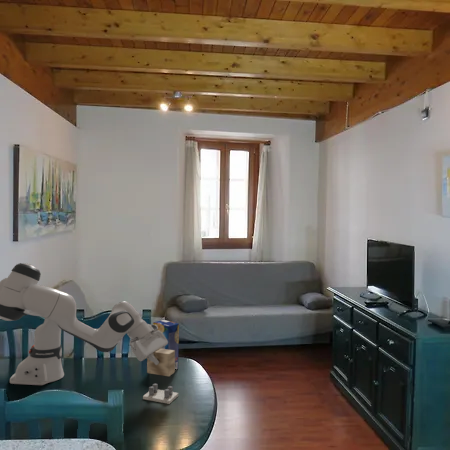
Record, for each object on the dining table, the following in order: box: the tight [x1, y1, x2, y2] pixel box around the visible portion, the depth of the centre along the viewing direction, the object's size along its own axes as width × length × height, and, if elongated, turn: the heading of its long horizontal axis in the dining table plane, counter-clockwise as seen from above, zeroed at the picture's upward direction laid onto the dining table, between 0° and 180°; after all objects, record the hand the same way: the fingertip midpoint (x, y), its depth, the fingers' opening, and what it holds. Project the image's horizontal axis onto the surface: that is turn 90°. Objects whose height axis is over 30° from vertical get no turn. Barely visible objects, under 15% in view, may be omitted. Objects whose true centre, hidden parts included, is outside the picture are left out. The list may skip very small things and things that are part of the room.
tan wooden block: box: [146, 348, 176, 377], centre depth 175 cm, size 10×5×9 cm, turn 70°
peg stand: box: [142, 383, 179, 405], centre depth 176 cm, size 12×8×4 cm, turn 70°
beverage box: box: [152, 319, 180, 370], centre depth 209 cm, size 7×11×22 cm, turn 51°
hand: (162, 361), depth 175 cm, fingers closed on tan wooden block, 5 cm apart
